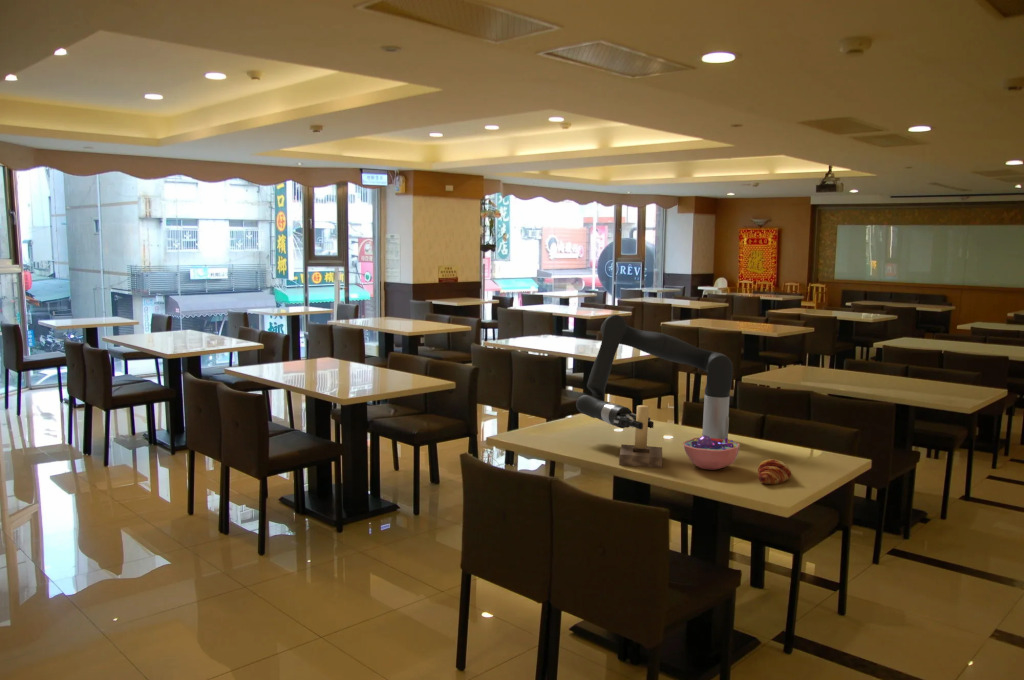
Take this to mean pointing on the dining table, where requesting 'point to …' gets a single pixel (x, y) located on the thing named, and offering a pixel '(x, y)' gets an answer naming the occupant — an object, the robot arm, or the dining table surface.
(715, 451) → the cell model
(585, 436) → the dining table surface
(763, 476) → the croissant
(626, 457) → the hole block
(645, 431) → the peg
